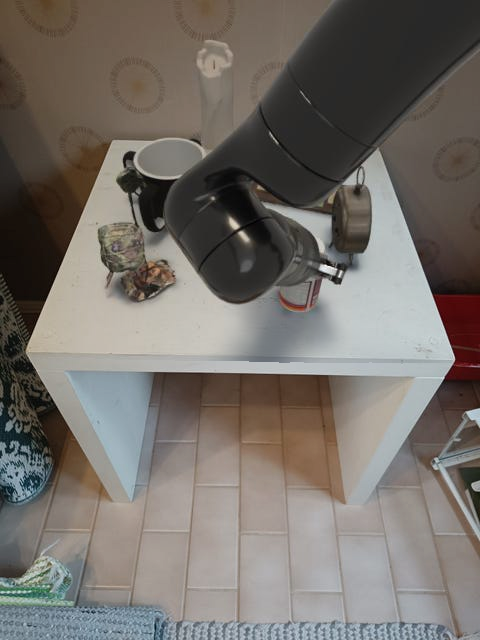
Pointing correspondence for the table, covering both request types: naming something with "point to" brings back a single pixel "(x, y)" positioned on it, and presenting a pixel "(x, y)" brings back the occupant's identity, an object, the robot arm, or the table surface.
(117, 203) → the table surface
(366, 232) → the alarm clock
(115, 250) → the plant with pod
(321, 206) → the board
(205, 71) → the candle
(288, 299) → the pill bottle
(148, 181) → the mug
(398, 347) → the table surface
